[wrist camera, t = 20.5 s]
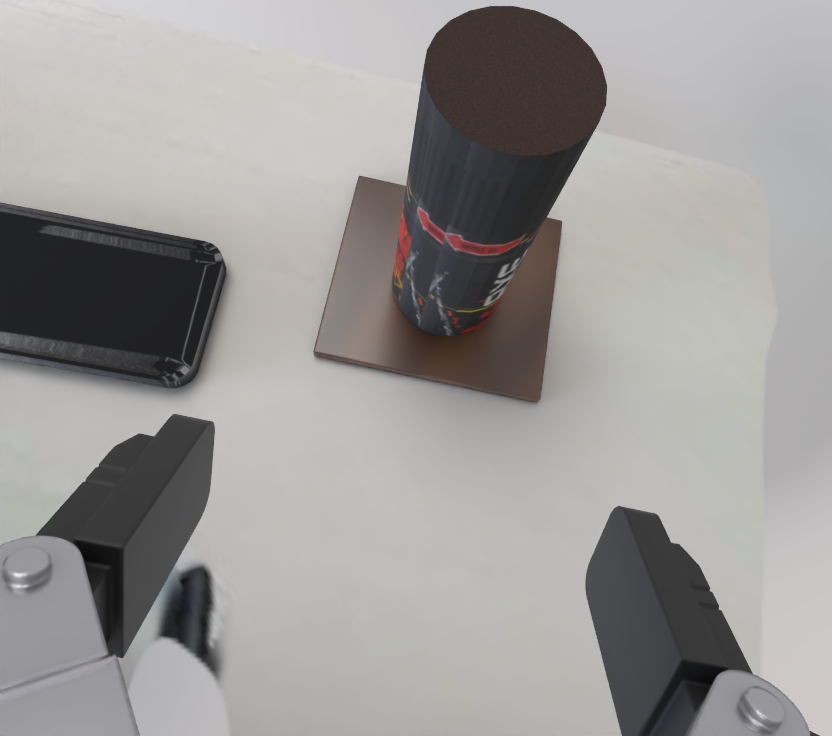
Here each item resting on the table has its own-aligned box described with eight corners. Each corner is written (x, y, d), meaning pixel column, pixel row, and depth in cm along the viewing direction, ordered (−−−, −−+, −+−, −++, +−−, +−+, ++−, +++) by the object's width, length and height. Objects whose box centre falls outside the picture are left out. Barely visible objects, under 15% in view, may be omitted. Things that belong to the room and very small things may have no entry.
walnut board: (313, 355, 33) (313, 351, 32) (358, 181, 36) (359, 175, 36) (537, 403, 33) (540, 399, 32) (559, 226, 37) (562, 220, 36)
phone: (186, 385, 30) (-134, 328, 29) (191, 392, 31) (-117, 336, 30) (227, 243, 33) (-65, 187, 32) (231, 254, 34) (-52, 200, 33)
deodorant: (466, 356, 33) (557, 189, 19) (370, 299, 33) (387, 93, 19) (518, 272, 35) (636, 62, 21) (427, 219, 35) (480, -22, 21)
